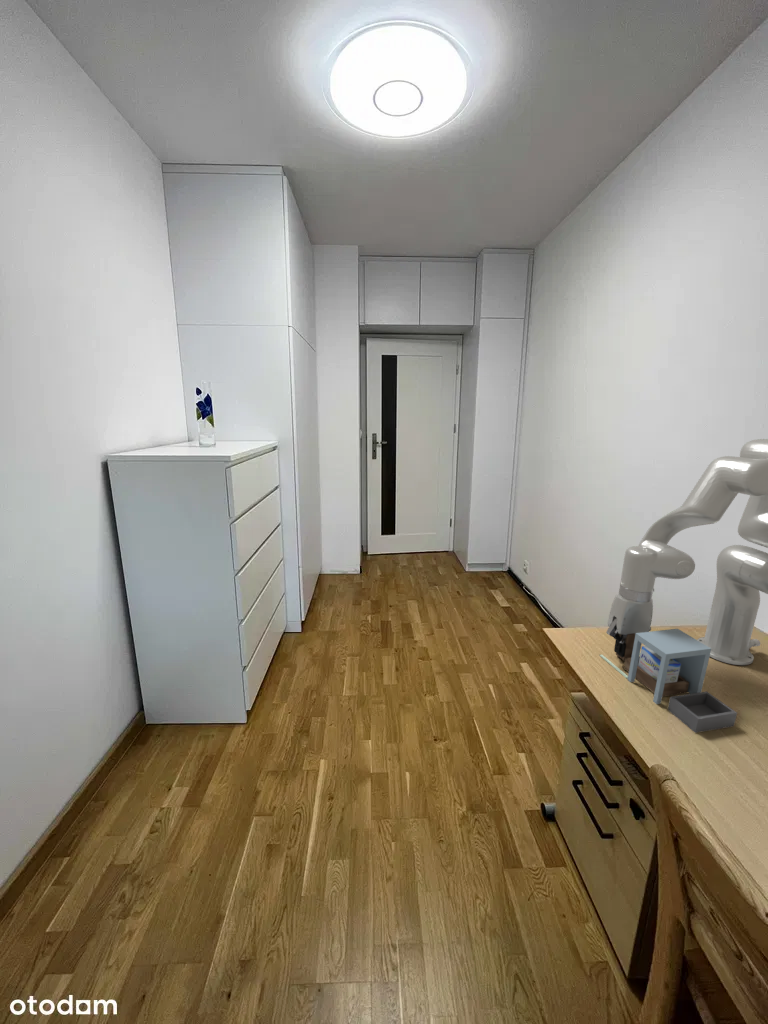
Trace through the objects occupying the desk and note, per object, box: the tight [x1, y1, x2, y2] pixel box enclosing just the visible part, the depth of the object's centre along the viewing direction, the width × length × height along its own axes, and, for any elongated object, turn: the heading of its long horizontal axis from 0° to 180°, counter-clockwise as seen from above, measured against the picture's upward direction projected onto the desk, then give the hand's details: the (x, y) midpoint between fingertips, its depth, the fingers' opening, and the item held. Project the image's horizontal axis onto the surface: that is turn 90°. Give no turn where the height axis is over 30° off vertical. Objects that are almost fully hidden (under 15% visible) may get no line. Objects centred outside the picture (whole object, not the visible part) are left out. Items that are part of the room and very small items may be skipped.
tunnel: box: [627, 628, 711, 705], centre depth 99 cm, size 12×9×13 cm
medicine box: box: [638, 645, 681, 684], centre depth 101 cm, size 8×4×9 cm, turn 6°
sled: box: [615, 633, 689, 698], centre depth 105 cm, size 8×17×8 cm, turn 11°
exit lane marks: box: [599, 654, 640, 679], centre depth 110 cm, size 12×10×1 cm
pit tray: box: [667, 690, 738, 734], centre depth 91 cm, size 10×7×4 cm
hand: (625, 652), depth 112 cm, fingers closed on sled, 3 cm apart
